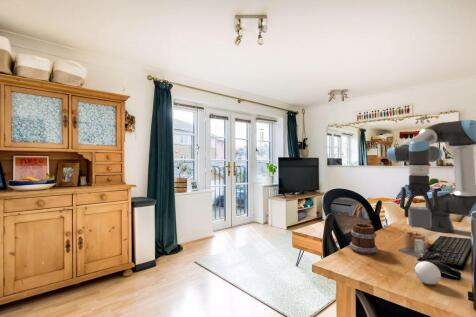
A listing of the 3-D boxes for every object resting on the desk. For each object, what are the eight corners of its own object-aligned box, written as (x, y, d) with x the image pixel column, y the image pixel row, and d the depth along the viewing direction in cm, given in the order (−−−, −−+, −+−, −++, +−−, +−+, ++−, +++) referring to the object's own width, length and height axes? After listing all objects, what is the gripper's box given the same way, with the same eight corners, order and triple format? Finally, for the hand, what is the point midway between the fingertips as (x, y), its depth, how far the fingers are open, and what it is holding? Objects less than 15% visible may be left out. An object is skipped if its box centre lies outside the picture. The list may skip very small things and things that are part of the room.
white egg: (415, 276, 91) (415, 256, 91) (441, 282, 86) (441, 261, 86) (411, 286, 83) (411, 265, 83) (440, 294, 79) (440, 271, 79)
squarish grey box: (407, 223, 117) (407, 205, 117) (425, 224, 115) (425, 206, 115) (411, 226, 111) (411, 208, 111) (430, 228, 108) (430, 209, 108)
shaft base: (414, 247, 120) (414, 235, 120) (440, 256, 110) (440, 242, 110) (399, 251, 116) (399, 238, 116) (424, 259, 105) (424, 245, 105)
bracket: (422, 253, 114) (422, 238, 114) (401, 248, 120) (401, 234, 120) (429, 243, 127) (429, 230, 127) (410, 239, 133) (410, 227, 133)
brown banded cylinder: (344, 250, 116) (346, 217, 118) (356, 248, 125) (358, 218, 127) (371, 257, 107) (373, 222, 109) (381, 254, 117) (383, 222, 119)
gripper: (395, 174, 113) (394, 224, 113) (449, 175, 105) (449, 229, 105) (391, 173, 120) (391, 221, 120) (442, 174, 112) (442, 225, 112)
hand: (418, 225), depth 113 cm, fingers closed on squarish grey box, 7 cm apart
